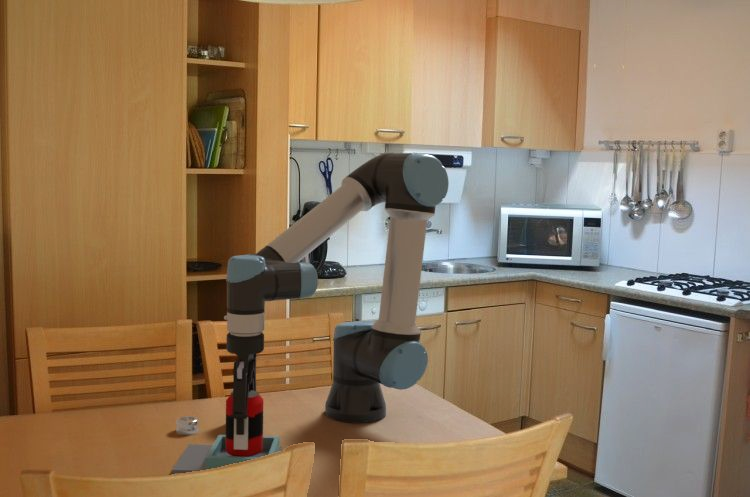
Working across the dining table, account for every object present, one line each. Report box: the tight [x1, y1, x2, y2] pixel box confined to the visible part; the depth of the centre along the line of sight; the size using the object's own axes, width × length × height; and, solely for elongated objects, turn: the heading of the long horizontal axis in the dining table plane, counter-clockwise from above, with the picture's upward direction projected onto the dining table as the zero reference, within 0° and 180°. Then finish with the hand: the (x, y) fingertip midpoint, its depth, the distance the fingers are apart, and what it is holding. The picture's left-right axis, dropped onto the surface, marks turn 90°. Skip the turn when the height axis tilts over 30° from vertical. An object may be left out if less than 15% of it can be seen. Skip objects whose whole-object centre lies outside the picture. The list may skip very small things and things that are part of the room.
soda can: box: [225, 390, 264, 457], centre depth 161 cm, size 8×8×12 cm
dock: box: [171, 434, 283, 475], centre depth 162 cm, size 20×14×4 cm
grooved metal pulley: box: [175, 415, 200, 436], centre depth 180 cm, size 5×3×5 cm
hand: (244, 441), depth 162 cm, fingers open, 8 cm apart
